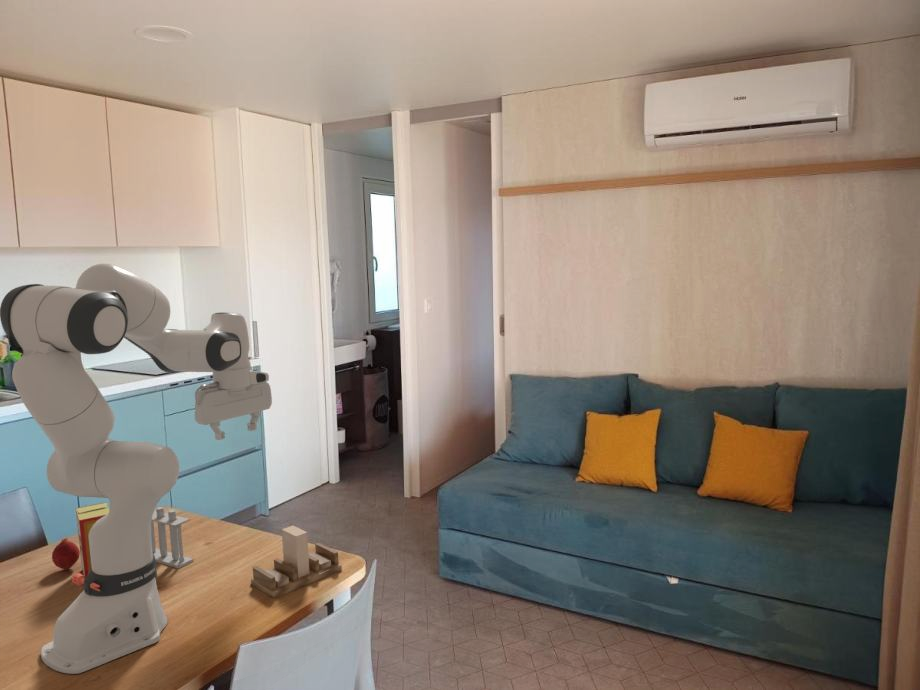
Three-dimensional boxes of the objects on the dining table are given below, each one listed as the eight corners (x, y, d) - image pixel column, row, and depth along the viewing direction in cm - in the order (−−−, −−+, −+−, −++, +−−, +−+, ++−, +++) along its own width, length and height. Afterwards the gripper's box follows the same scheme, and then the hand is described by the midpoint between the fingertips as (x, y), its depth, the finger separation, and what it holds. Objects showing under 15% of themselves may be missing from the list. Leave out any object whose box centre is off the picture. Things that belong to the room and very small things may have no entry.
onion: (79, 572, 166) (75, 540, 165) (51, 577, 164) (48, 544, 163) (82, 562, 171) (79, 531, 170) (55, 566, 169) (52, 535, 168)
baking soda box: (117, 577, 163) (110, 512, 161) (86, 585, 159) (79, 519, 157) (111, 562, 171) (105, 500, 168) (82, 570, 167) (75, 506, 165)
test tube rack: (113, 549, 179) (109, 500, 177) (129, 542, 183) (124, 494, 181) (178, 569, 167) (174, 516, 165) (193, 561, 170) (189, 510, 169)
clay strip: (298, 578, 157) (295, 536, 156) (284, 570, 162) (281, 529, 160) (309, 573, 160) (307, 532, 158) (295, 565, 164) (292, 525, 162)
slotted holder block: (274, 598, 151) (273, 580, 150) (251, 583, 158) (249, 566, 157) (341, 569, 164) (340, 553, 163) (317, 557, 171) (316, 541, 170)
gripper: (203, 387, 156) (207, 446, 158) (274, 373, 173) (277, 426, 175) (186, 385, 160) (191, 443, 162) (257, 371, 177) (260, 423, 179)
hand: (236, 434), depth 169 cm, fingers open, 8 cm apart
